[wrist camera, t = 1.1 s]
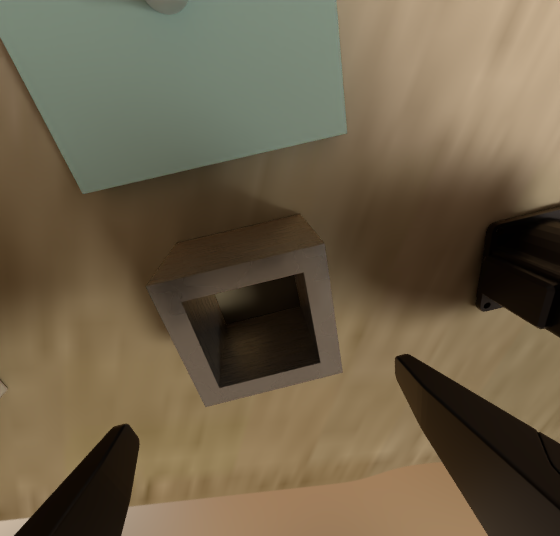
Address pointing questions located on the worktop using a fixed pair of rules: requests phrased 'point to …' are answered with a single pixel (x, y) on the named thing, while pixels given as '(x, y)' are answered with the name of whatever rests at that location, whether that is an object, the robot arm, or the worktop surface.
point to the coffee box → (2, 389)
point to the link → (256, 331)
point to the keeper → (176, 80)
